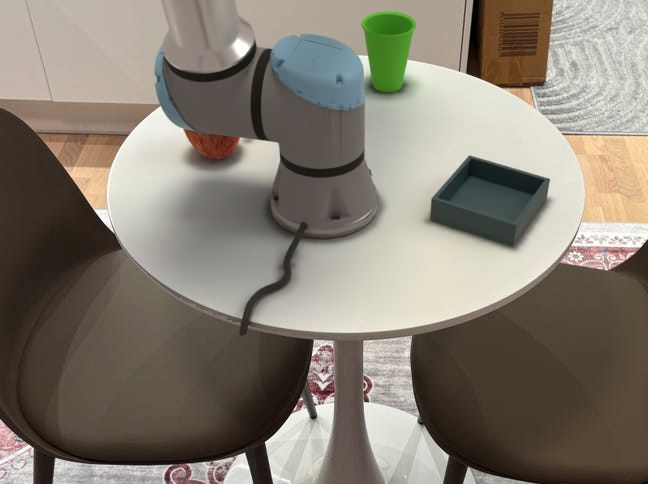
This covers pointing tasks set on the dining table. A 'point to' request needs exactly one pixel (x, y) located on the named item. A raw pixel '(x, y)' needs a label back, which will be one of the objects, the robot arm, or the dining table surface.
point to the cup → (388, 48)
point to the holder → (489, 200)
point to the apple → (212, 144)
